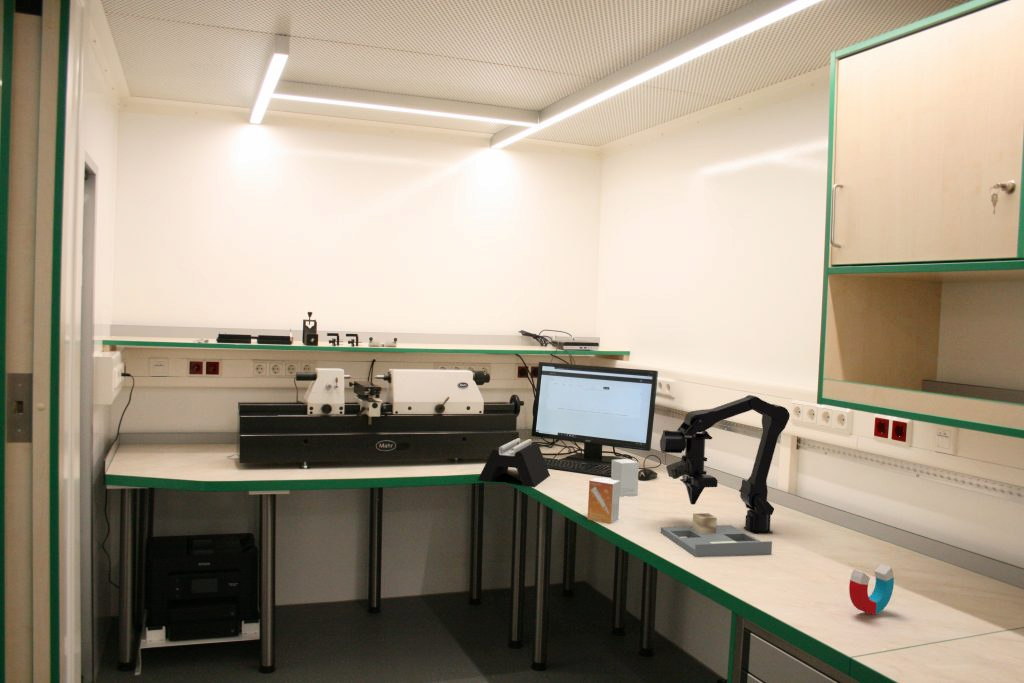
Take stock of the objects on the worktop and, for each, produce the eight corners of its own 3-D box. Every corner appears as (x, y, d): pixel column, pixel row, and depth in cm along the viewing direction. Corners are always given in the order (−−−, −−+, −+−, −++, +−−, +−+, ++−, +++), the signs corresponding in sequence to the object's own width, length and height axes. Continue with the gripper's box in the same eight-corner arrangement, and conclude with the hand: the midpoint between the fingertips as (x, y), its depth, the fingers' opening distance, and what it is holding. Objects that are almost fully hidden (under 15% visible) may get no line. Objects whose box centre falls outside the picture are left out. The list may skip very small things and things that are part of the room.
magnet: (881, 606, 174) (884, 563, 173) (892, 610, 171) (895, 566, 171) (847, 614, 168) (849, 569, 168) (858, 618, 166) (860, 573, 165)
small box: (587, 521, 236) (588, 480, 236) (595, 517, 242) (596, 476, 241) (611, 525, 232) (613, 483, 232) (618, 521, 238) (620, 480, 237)
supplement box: (638, 497, 271) (639, 462, 270) (619, 498, 268) (621, 463, 268) (627, 492, 278) (629, 458, 277) (609, 493, 275) (611, 459, 274)
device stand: (476, 484, 282) (478, 444, 282) (495, 473, 304) (497, 436, 304) (534, 491, 276) (536, 450, 275) (550, 479, 297) (551, 441, 297)
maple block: (707, 528, 226) (708, 513, 226) (716, 533, 221) (716, 517, 221) (692, 528, 225) (693, 513, 225) (700, 533, 220) (701, 518, 220)
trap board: (660, 533, 225) (661, 522, 225) (730, 531, 231) (730, 520, 231) (695, 557, 204) (696, 544, 204) (771, 554, 210) (772, 541, 210)
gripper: (657, 448, 237) (655, 497, 238) (684, 459, 219) (682, 513, 220) (689, 447, 240) (687, 496, 241) (719, 459, 222) (717, 511, 223)
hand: (692, 504), depth 231 cm, fingers closed
